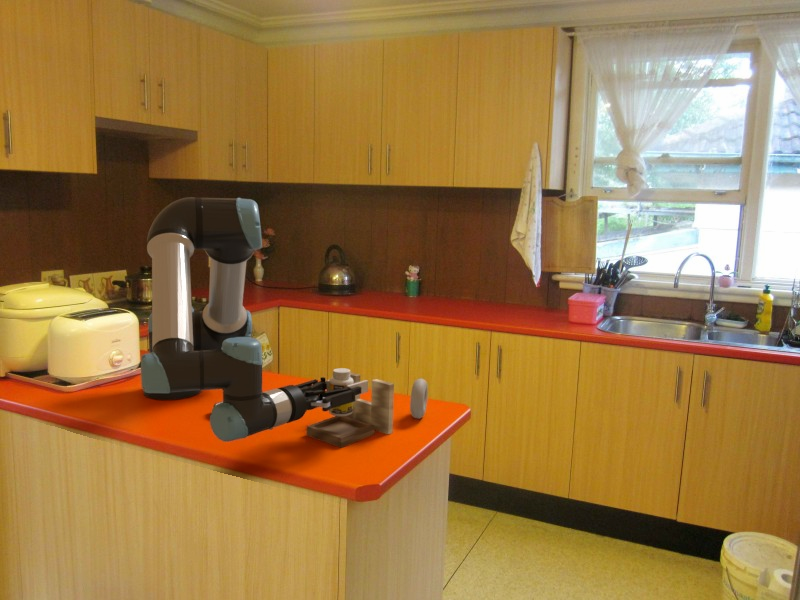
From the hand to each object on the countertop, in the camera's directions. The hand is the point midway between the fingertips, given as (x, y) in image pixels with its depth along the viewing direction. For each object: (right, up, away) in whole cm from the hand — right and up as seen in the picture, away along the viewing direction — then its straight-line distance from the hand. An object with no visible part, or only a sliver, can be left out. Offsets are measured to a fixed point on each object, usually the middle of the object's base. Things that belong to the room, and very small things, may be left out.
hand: (356, 383), depth 154 cm
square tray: (-4, -12, -2) cm, 12 cm away
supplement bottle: (-3, -7, -3) cm, 8 cm away
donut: (+15, -10, +11) cm, 21 cm away
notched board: (+2, -11, +5) cm, 12 cm away
